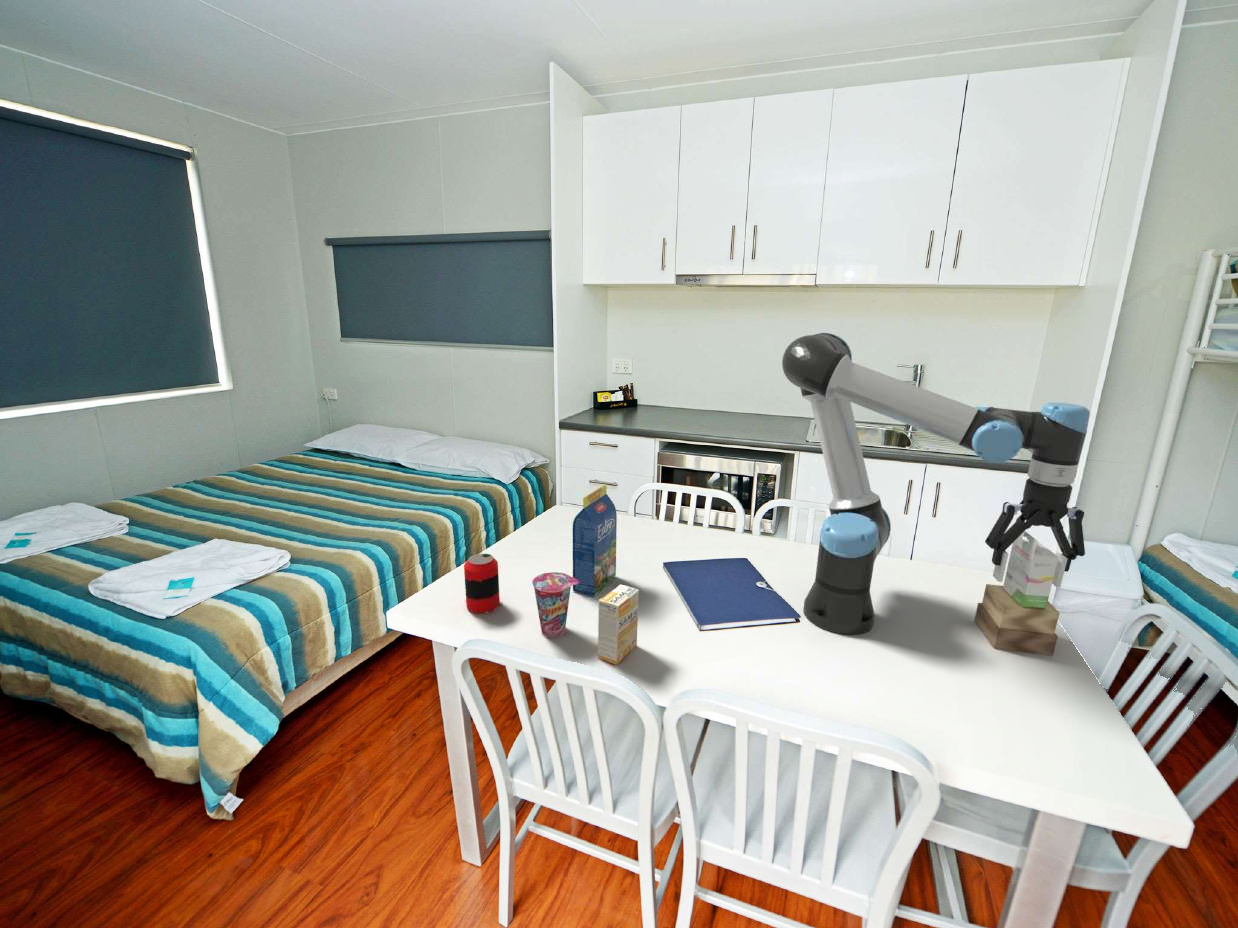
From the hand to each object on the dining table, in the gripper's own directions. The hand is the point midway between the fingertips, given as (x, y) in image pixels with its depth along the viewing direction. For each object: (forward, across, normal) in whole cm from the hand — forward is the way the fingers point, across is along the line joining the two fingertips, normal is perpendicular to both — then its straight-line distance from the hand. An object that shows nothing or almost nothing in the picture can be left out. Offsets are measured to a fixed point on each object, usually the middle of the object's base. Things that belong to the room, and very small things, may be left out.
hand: (1025, 581), depth 121 cm
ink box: (+4, 0, 0) cm, 4 cm away
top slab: (+9, 0, 0) cm, 9 cm away
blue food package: (+14, -94, +4) cm, 95 cm away
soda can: (+14, -117, -12) cm, 118 cm away
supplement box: (+14, -83, -23) cm, 87 cm away
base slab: (+14, 0, 0) cm, 14 cm away
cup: (+14, -98, -18) cm, 100 cm away
